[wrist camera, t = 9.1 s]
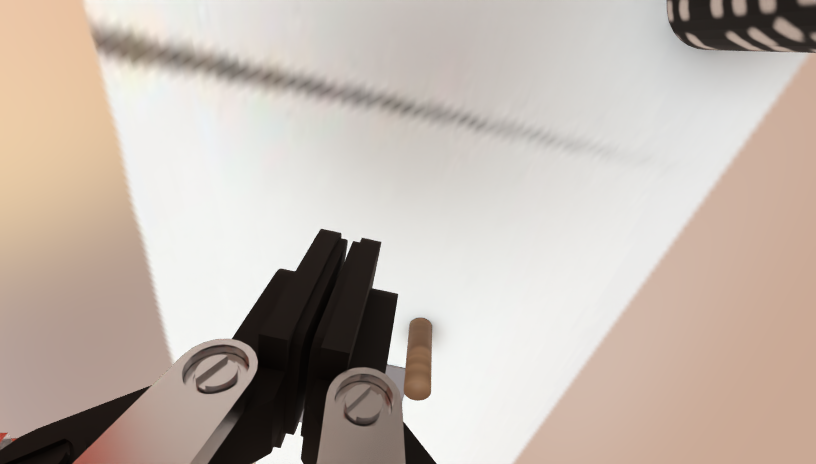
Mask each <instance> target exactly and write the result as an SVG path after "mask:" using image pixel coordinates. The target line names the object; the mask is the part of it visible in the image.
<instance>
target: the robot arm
mask: <svg viewBox="0 0 816 464" xmlns="http://www.w3.org/2000/svg"><path fill="white" fill-rule="evenodd" d="M347 242H348V241H347V240H346V239H341V233H338V232H334V231H329V230H325V229H321V230H320V231H319V233H318V234H317V236H316V238H315V239H314V241H313V243H312V244H311V246H310V248H309V249H308V251H307V253H306V255H305V256H304V258H303V260H302V261H301V263H300V265H299V266H298V268H297V270H296V271H290V270H286V269H279V270H278V271H277V272H276V273H275V275H274V276H273V278H272V279H271V281H270V282H269V284H268V285H267V287H266V288H265V290H264V291H263V293H262V294H261V296H260V297H259V299H258V300H257V302H256V303H255V305H254V306H253V308H252V309H251V311H250V312H249V314H248V315H247V317H246V318H245V320H244V321H243V323H242V324H241V326H240V327H239V329H238V330H237V332H236V333H235V335H234V336H233V338H232V339H215V340H211V341H207V342H204V343H202V344H199V345H197V346H195V347H193V348H191V349H190V350H189V351H188V352H186V353H185V354H184V355H182V356H181V357H180V358H179V359H178V360H177V361H176V362H175V363H174V364H173V365H172V366H171V367H170V368H169V369H168V370H167V371H166V372H165V373H164V374H163V375H162V376H161V377H160V378H159V379H158V380H157V381H156V382H155V383H154V384H153V385H151V386H148V387H146V388H143V389H141V390H138V391H135V392H133V393H130V394H127V395H125V396H122V397H120V398H117V399H114V400H112V401H109V402H107V403H104V404H101V405H99V406H96V407H93V408H91V409H88V410H85V411H83V412H80V413H78V414H75V415H73V416H70V417H67V418H64V419H62V420H59V421H57V422H54V423H51V424H49V425H46V426H43V427H41V428H38V429H36V430H34V431H32V432H30V433H28V434H25V435H23V436H21V437H19V438H13V439H12V438H10V436H9V434H8V433H0V464H255V463H256V461H258V460H259V459H261V458H263V457H265V456H266V455H268V454H270V453H271V452H272V449H273V447H278V448H281V445H282V443H283V440H284V437H285V435H286V433H287V434H292V435H294V433H295V431H296V429H297V426H298V423H299V420H300V418H301V415H302V412H303V419H302V428H301V436H302V437H303V445H302V454H301V460H302V462H303V464H436V462H435V461H434V460H433V459H432V457H431V456H430V455H429V453H428V452H427V451H426V450H425V448H424V447H423V446H422V445H421V443H420V442H419V441H418V440H417V438H416V437H415V436H414V434H413V433H412V432H411V431H410V429H409V428H408V427H407V426H406V424H405V423H404V422H403V413H402V400H401V396H400V391H399V389H398V388H397V386H396V384H395V383H394V381H393V380H391V379H390V378H389V377H388V376H387V375H386V374H385V373H386V367H387V361H388V354H389V348H390V342H391V336H392V330H393V323H394V317H395V311H396V305H397V298H398V294H396V293H391V292H387V291H382V290H377V289H373V288H372V286H373V281H374V276H375V271H376V266H377V261H378V256H379V252H380V247H381V242H379V241H374V240H370V239H365V238H362V239H361V241H360V243H359V242H355V241H353V243H352V245H351V248H350V250H349V252H348V255H347V257H346V260H345V256H346V250H347ZM303 409H304V410H303Z"/></svg>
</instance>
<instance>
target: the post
mask: <svg viewBox="0 0 816 464" xmlns="http://www.w3.org/2000/svg"><path fill="white" fill-rule="evenodd" d="M431 353H432V325H431V323H430V322H429V321H428V320H427V319H424V318H416V319H414V320H412V321H411V323H410V326H409V337H408V347H407V358H406V369H405V379H404V394H405V395H406V396H407V397H408V398H410V399H412V400H424V399H426V398H428V397H429V396H430V394H431Z"/></svg>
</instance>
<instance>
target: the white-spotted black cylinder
mask: <svg viewBox="0 0 816 464" xmlns="http://www.w3.org/2000/svg"><path fill="white" fill-rule="evenodd" d="M667 12H668V17H669V22H670V24H671V27H672V29H673V31H674V33H675V34H676V35H677V36H678V37H679V39H680V40H682V41H683V42H684V43H686V44H687V45H689V46H692V47H694V48H697V49H705V50H732V51H770V52H808V53H816V0H667Z"/></svg>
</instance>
